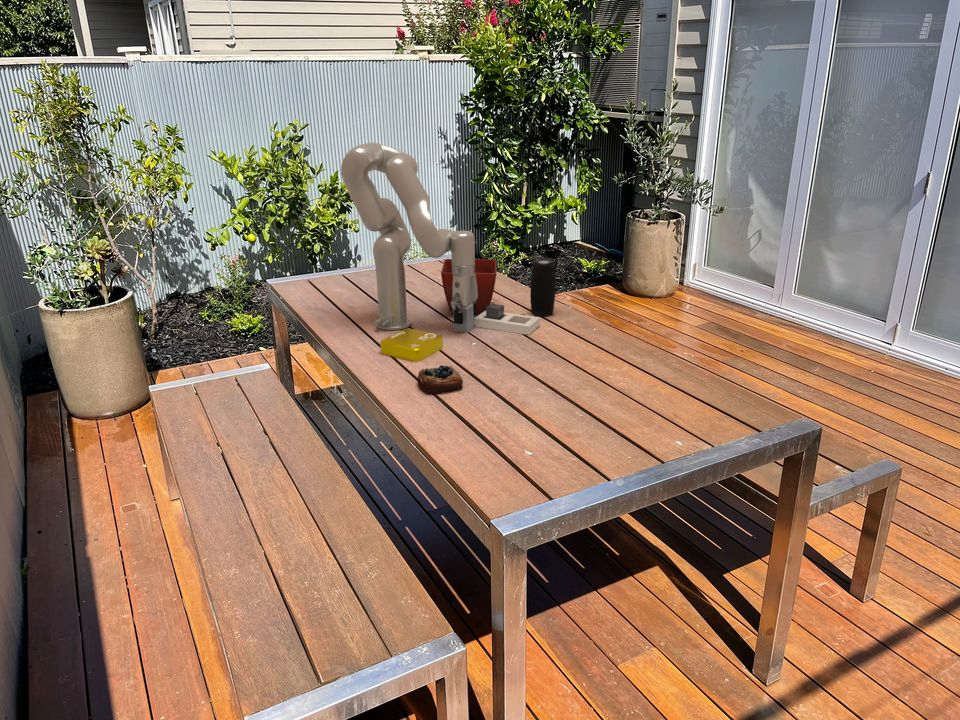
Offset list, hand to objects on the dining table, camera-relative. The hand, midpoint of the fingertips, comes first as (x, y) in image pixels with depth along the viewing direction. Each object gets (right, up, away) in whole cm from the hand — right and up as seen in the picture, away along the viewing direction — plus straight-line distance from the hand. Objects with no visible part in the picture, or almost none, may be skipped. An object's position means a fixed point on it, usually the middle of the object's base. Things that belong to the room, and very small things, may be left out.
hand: (465, 319), depth 236 cm
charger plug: (-1, -3, +1) cm, 4 cm away
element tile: (-16, -11, -16) cm, 25 cm away
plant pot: (+1, +4, +20) cm, 21 cm away
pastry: (-6, -21, -41) cm, 46 cm away
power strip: (+16, -1, +8) cm, 17 cm away
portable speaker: (+27, +3, +17) cm, 32 cm away
